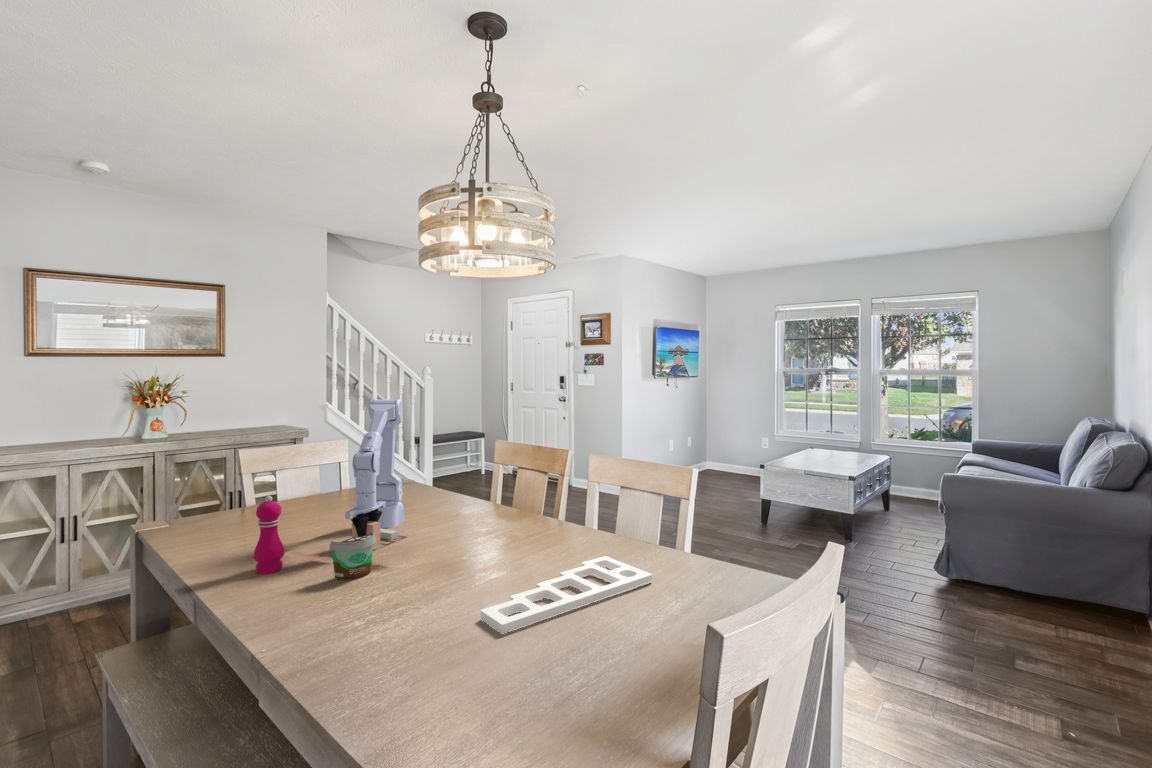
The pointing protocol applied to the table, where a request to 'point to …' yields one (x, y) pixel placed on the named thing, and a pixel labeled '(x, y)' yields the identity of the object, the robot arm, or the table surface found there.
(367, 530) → the pink rectangular prism
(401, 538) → the rack
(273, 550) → the pepper mill
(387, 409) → the robot arm
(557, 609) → the holder
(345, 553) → the food container
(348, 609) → the table surface
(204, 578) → the table surface
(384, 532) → the upper offcut
